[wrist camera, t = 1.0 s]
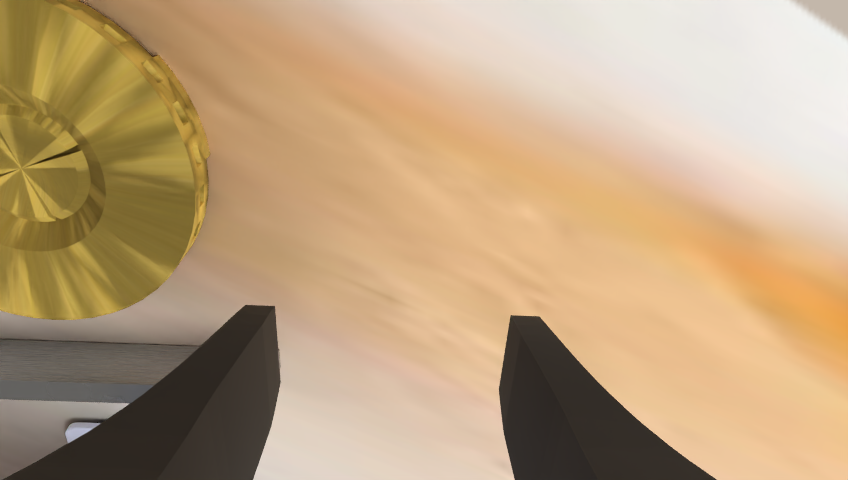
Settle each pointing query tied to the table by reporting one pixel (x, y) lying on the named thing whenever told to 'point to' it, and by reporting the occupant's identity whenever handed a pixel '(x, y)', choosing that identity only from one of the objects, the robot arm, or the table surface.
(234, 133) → the table surface
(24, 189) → the gold round shallow dish
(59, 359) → the bay
